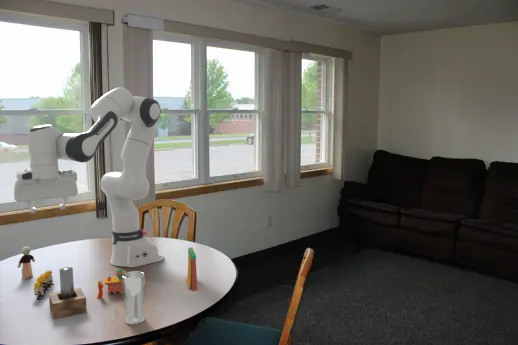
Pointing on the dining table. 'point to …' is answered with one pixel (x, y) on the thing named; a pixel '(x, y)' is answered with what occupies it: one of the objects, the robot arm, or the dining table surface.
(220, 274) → the dining table surface
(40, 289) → the figurine set
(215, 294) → the dining table surface
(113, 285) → the toy building block set
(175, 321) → the dining table surface
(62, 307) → the wooden block with hole
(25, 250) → the grandmother figurine
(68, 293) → the metal peg
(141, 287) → the beer glass
